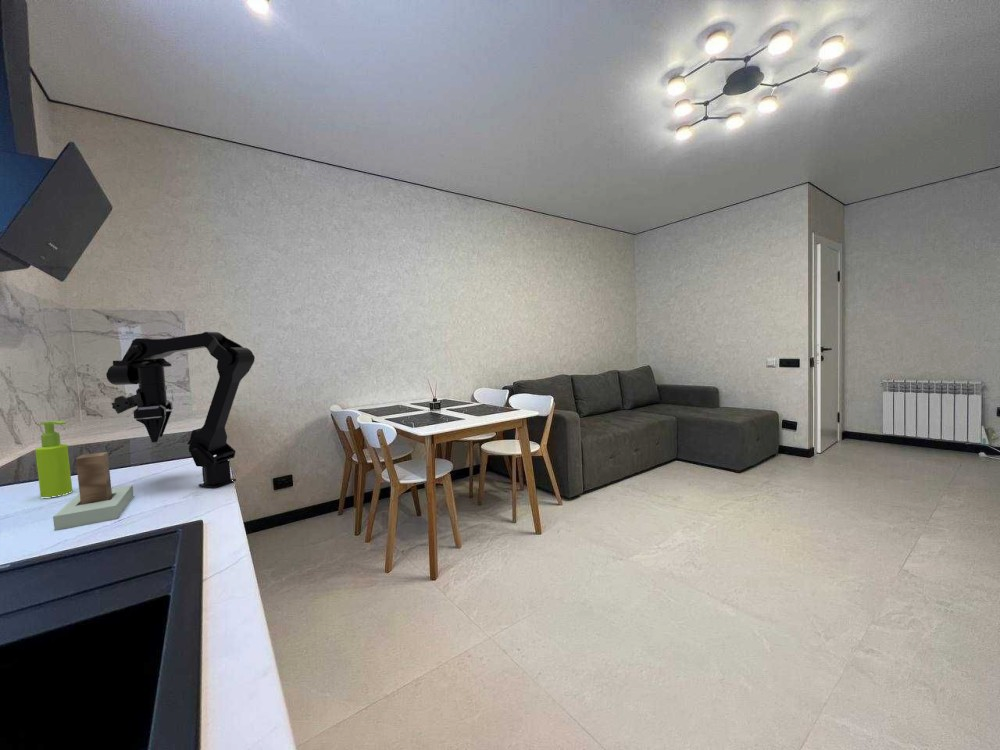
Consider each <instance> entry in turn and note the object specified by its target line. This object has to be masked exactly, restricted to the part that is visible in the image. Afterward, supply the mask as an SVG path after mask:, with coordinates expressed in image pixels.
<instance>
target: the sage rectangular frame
mask: <svg viewBox="0 0 1000 750" xmlns="http://www.w3.org/2000/svg"><path fill="white" fill-rule="evenodd" d="M133 485H134V484H130V485H122V486H117V487H111V490H112V499H111V500H107V501H101V502H95V503H89V504H83V505H81V502H80V493H79V492H78V494H77V495H76V496H75V497H74V498H72V499H71V500H70V501H69V502H68V503H67V504H66V505H65V506H63V507H62V508H61V509H59V511H58V512H57V513H55V514H54V515H53V516H52V519H53V520H52V521H53V528H54V531H58V530H64V529H68V528H69V529H70V528H74V527H79V526H80V527H81V526H86V525H90V524H91V525H92V524H96V523H101V522H105V521H112V520H116V519H119V518H120V515H122V513H123V512H124V510H125V509H126V508H127V507H128V505H129V503H130V502H131V501H130V500H132V499H133V498H132V497H134V496H133V495H134V486H133ZM131 498H132V499H131ZM129 501H130V502H129ZM127 504H128V505H127ZM124 508H125V509H124ZM122 511H123V512H122Z"/></svg>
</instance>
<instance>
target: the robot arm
mask: <svg viewBox="0 0 1000 750" xmlns="http://www.w3.org/2000/svg"><path fill="white" fill-rule="evenodd" d="M205 348H206V349H207V352H208V353H209V354H210V356H211V357H213V358H214V359H216V360H217V362H216V369H217V373H218V377H219V378H218V380H217V384H216V387H215V389H214V392H213V393H214V394H213V397H212V399H211V401H210V406H209V408H208V411H207V414H206V418H205V419H204V424H203V426H202V427H200V428H197V429H193V430H192V431H191V433H190V438H189V441H188V442H187V444H186V445H189V446H188V452H189V453H190V455H191V457H192V460H193V461H194V464H195V466H196V467H200V468H201V467H202V469H201V471H202V473H201V474H202V481H203V483H199V484H198V487H201V488H212V489H215V488H219V487H222V486H225V485H228V484H231V483H234V482H236V481H237V479H236V478H232V477H231V476H232V475H231V464H230V460H231V459H234V458H235V455H236V450H235V449H234V448H233V447H232V446H231V445H230V444H228V442H227V441H228V440H227V439H228V435H227V431H226V425H227V421H228V418H229V416H230V412H231V409H232V407H233V403H234V402H235V401H234V400H235V397H236V394H237V392H238V389H239V386H240V382H241V380H242V379H244V377H245V376H247V374H248V373H249V372H250V371H251V368H252V367H253V365H254V363H255V359H256V358H255V355H254V353H253V352H252V350H251V349H249V348H247V347H243V345H241V344H239V343H238V342H236V341H233V340H232V339H230V338H228V337H226V336H225V335H224V334H222V333H220V332H219V331H217V332H216V331H204V332H202V333H194V334H189V335H188V334H187V335H183V336H176V337H175V336H174V337H170V338H169V337H168V338H152V337H151V338H147V337H146V338H145V337H144V338H141V337H137V338H134V339H132V340H131V343H130V345H129V347H128V349H127V351H126V352H125V354H124V355H123V357H122V359H121V360H113V361H112V365H110V366H109V368H108V369H107V372H106V374H105V375H106V379H107V381H108V382H109V383H110V384H112V385H115V386H123V385H124V386H125V385H138V388H137V389H136V390H135V393H136V394H133V395H131V396H128V397H126V396H125V395H120V396H117V397H115V398H114V401H113V402H111V403H110V405H111V406H112V407H111V408H112V409H113V410H114V411H115V412H116V414H118V415H119V414H122V413H124V412H125V411H127V410H130V409H132V408H136V407H137V408H136V409H134V410H133V413H132V414H133V419H135V421H136V422H138V423H141V424H143V425H144V426H145V428H146V431H147V433H148V436H149V438H150V440H151V441H150V442H151V443H158V442H159V438H160V437H161V438H162V437H163V436H164V433H165V430H166V427H167V425H168V422H169V420H170V417H171V415H172V413H173V409H174V406H173V402H172V401H170V400H168V398H167V397H168V396H167V390H168V385H166V377H165V368H166V367H172V364H171V362H169V361H167V360H166V359H165V358H167V357H169V356H171V355H172V354H174V353H177V352H185V351H192V350H197V349H198V350H199V349H205ZM232 480H233V482H232Z"/></svg>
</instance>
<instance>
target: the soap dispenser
mask: <svg viewBox="0 0 1000 750" xmlns="http://www.w3.org/2000/svg"><path fill="white" fill-rule="evenodd" d="M67 423H68V422H67V421H64V420H49V421H44V422H40V423H39V425H40V426H43V425H44V432H45V433H43V434H41V435H40V440H41V446H40V447H37V448H35V449H34V450H35V458H36V459H35V460H36V469H37V478H38V484H39V495H40V498H41V497H52V496H58V495H63V494H66V493H69V492H71V491H72V492H73V485H72V475H71V467H70V465H71V464H70V458H69V457H70V456H69V450H68V449H69V448H68V444H66V443H64V444H62V443H61V436H60V432H56V431H55V425H57V426H59V425H65V424H67Z"/></svg>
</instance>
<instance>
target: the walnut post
mask: <svg viewBox="0 0 1000 750" xmlns="http://www.w3.org/2000/svg"><path fill="white" fill-rule="evenodd" d="M109 462H110V461H109V452H108V451H104V452H103V451H102V452H95V453H89V454H88V453H86V454H85V453H84V454H81V455H79V456H78V457H76V458H75V463H76V472H77V481H78V491H79V492H78V494H79V493H80V502H81V505H83V504H89V503H95V502H101V501H107V500H111V499H112V490H111V488H112V482H111V481H112V480H111V473H110V463H109Z"/></svg>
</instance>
